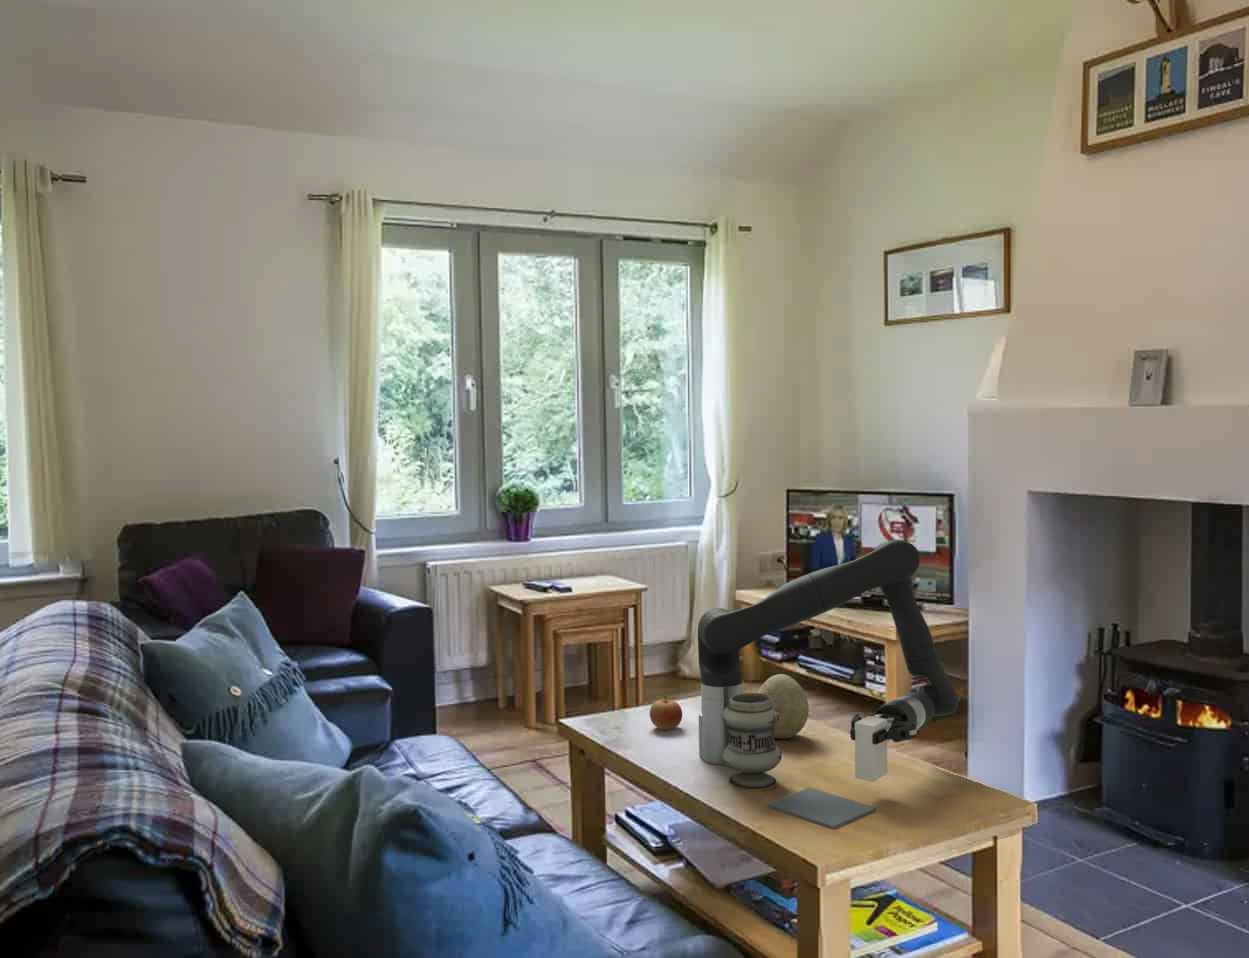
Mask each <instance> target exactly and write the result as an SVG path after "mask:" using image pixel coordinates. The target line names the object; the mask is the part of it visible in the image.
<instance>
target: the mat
mask: <svg viewBox="0 0 1249 958" xmlns="http://www.w3.org/2000/svg"><path fill="white" fill-rule="evenodd" d="M766 806H767V807H769V808H772V809H774V810H777V811H780V812H784V813H786V814H788V815H791V816H795V817H797V818H800V819H803V820H807V821H809V822H812V823H815V824H817V825H820V826H824V827H827V828H830V829H837V828H839V827H842V826H843V825H845V824H847V823H850V822H852V821H855V820H857V819H860V818H862V817H864V816H867V815H869V814H871V813H873V812H876V810H877V807H875V806H872V805H868V804H865V803H861V802H859V801H855V800H852V799H849V798H846V797H842V796H839V795H836V794H833V793H830V792H826V791H823V790H821V789H817V788H814V787H810V786H809V787H807V788H805V789H801V790H800V791H797V792H794V793H791V794H788V795H786V796H783V797H780V798H779V799H776V800H773V801H771V802H768V803H767V804H766Z"/></svg>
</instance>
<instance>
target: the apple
mask: <svg viewBox="0 0 1249 958" xmlns="http://www.w3.org/2000/svg"><path fill="white" fill-rule="evenodd" d="M663 698H664V699H659V700H655V701H654V702H653V703H652V704H651V705H650V709H649V717H650V721H651V723H652V724H653V726H654V727H656V728H658V729H660V730H673V729H675V728H677V727H678V726H679V725H680V724H681V722H682V719H683V710H682V707H681V706H680V704H679V703H678V702H677V701H675V700H671V699H668V698H667V696H666V695H664V696H663Z"/></svg>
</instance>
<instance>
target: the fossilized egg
mask: <svg viewBox="0 0 1249 958" xmlns="http://www.w3.org/2000/svg"><path fill="white" fill-rule="evenodd" d="M757 693H762V694H766V695H768V696H770V699H771V703H772V706H774V707H775V708H776V709H777V710H778V712H779V721H778V722H777V724H776V725H774V738H775V739H780V740H781V739H789V738H792V737H794V736H796V735H798V734H799V733H800V732H801V731H802V730H803V728H804V727H805V726H806V723H807V720H808V718H809V713H810V706H809V702H808V701H809V700H808V698H807V696H806V692H805V691H804V689H803V688H802V687H801V685H800V684H799V683H798V682H797V681H796V680H795V679H794V678H793V677H791V676H790V675H787V674H784V673H779V674H778V673H777V674H775V675H772V676H770V677H769V678H767V679H766V680H765V682H763V684H762V685H761V686H760V688H759V689H758V691H757Z"/></svg>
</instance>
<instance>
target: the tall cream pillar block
mask: <svg viewBox="0 0 1249 958" xmlns="http://www.w3.org/2000/svg"><path fill="white" fill-rule="evenodd" d="M872 716H873V715H867V716H865V717H862V719H861V720H859V721H857V722H855V740H854V778H855V779H860V780H864V781H867V782H873V783H875V782H876V781H877V780H879V779H881V778H882V777H884V776H887V774H888V741H887V742H886V741H883V742H882V743H879V744H877V745H875V744H873V743H872V735H873V733H875V732H877V731H879V730H880V729H883V728H884V727H885V726H886V724H887V719H883V718H877V717H872Z"/></svg>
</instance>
